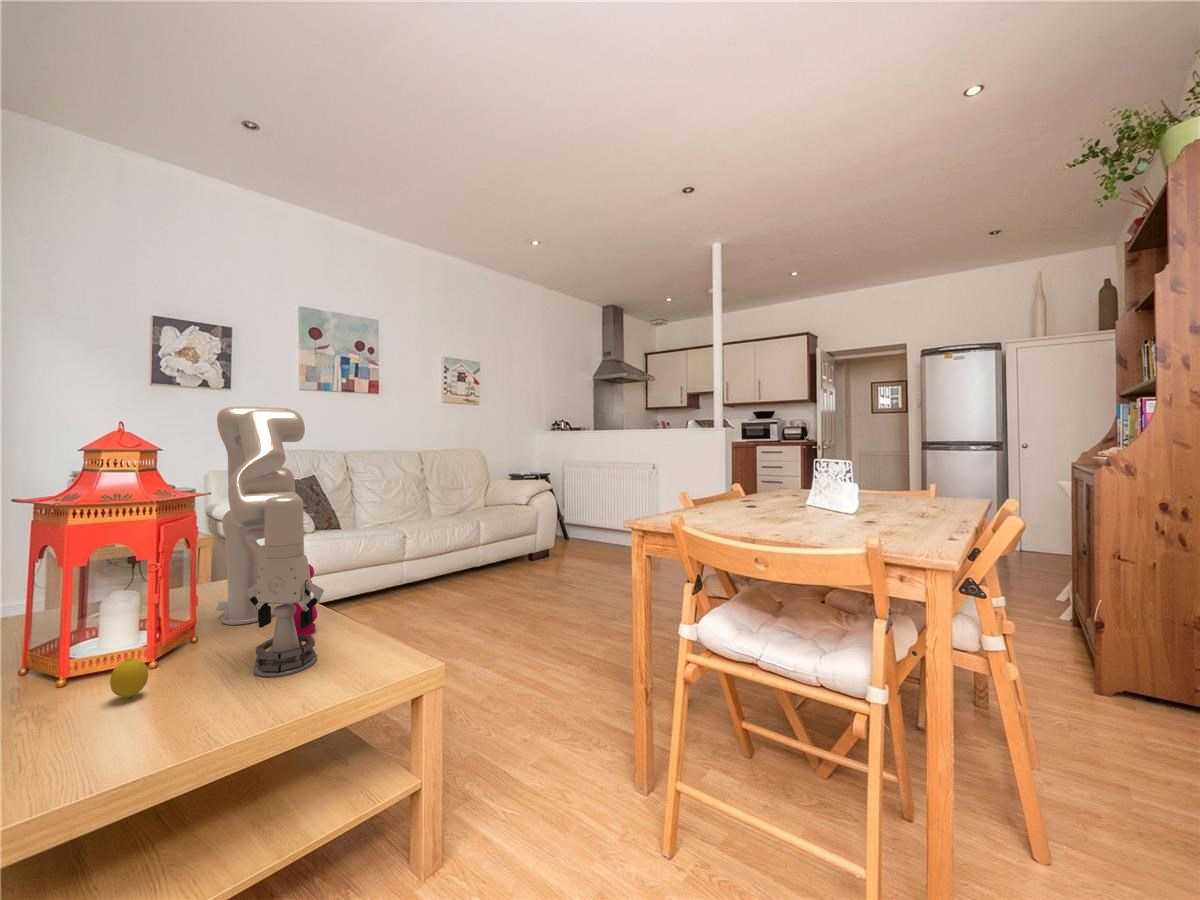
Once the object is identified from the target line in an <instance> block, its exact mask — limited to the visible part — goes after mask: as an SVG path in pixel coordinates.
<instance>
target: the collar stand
mask: <svg viewBox="0 0 1200 900" xmlns="http://www.w3.org/2000/svg"><path fill="white" fill-rule="evenodd" d="M297 636H298V640H299V645H300V647H299V648H295V649H291V650H287V651H282V652H271V650H269V648H272V643H273V638H274V637H272V638H270V639H267V640H265V641H263V642H262V643H260V644H258V645H257V646H255V654H256V659H255V664H254V665H253V667H252V672H253V674H254V676H257V677H259V678H268V679H269V678H280V677H285V676H292V675H294V674H297V673H300V672H303V671H305V670H307V669H309V668H311V667H313V665H315V664H316V663H317V662H318V655H317V653H316V650H315V649H314V647H315V646H316V640H315V638H314V637H313V636H312V634H310V635H308V634H297ZM303 642H305V643H304V644H303ZM266 650H268V651H266ZM292 656H295V660H293V661H289V662H285V663H281V664H277V663H275V662H274V661H273V660H279V659H285V658H288V657H292Z"/></svg>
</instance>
